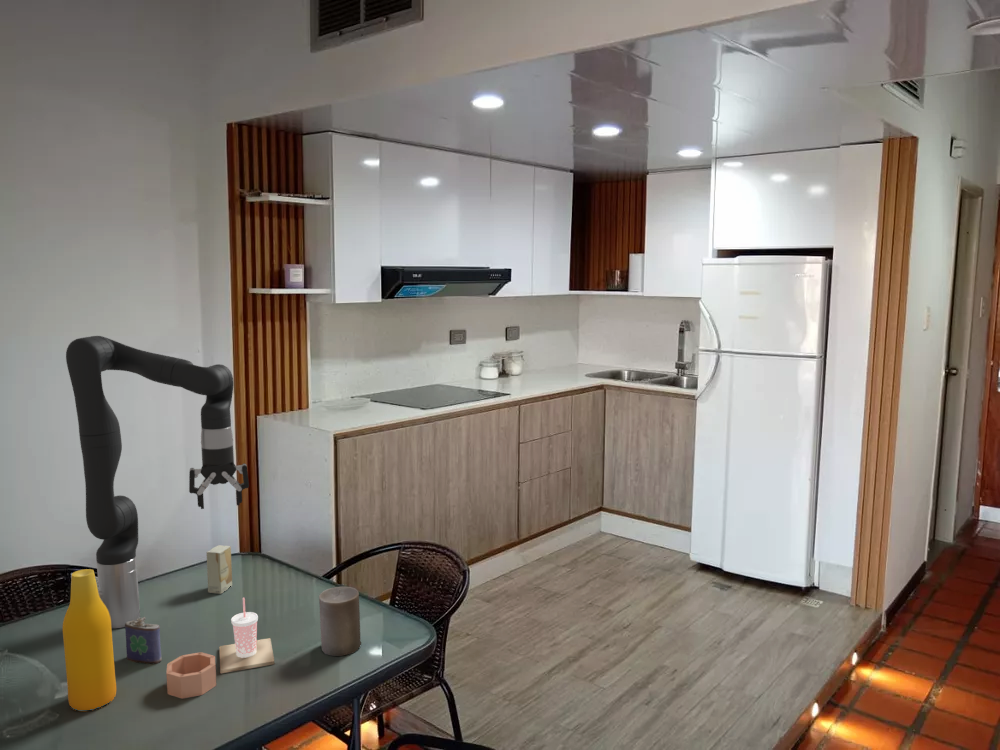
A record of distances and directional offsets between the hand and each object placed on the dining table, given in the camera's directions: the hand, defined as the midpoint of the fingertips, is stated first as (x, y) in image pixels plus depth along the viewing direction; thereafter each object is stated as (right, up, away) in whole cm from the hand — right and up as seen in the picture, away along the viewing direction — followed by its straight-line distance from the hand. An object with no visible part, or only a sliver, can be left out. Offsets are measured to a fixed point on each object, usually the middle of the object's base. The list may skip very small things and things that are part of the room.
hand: (220, 506), depth 198 cm
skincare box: (-9, -29, +27) cm, 40 cm away
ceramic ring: (+2, -36, -24) cm, 43 cm away
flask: (-14, -35, -13) cm, 39 cm away
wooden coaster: (+10, -34, -11) cm, 38 cm away
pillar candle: (+32, -34, -6) cm, 47 cm away
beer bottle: (-17, -37, -30) cm, 51 cm away
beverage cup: (+10, -34, -11) cm, 37 cm away
